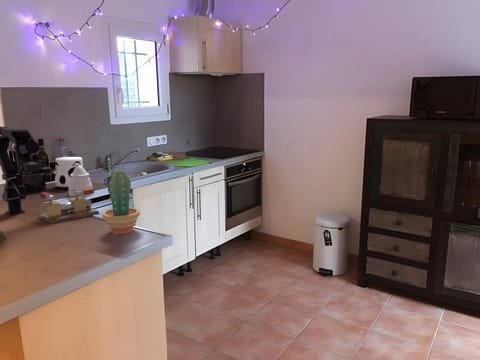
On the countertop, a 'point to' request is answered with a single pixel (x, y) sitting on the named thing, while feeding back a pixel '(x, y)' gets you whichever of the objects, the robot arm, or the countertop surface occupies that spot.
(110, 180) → the potted cactus
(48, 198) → the valve lever
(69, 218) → the beige flat board
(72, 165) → the milk container
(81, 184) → the honey pot
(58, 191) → the countertop surface
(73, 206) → the pipe manifold
